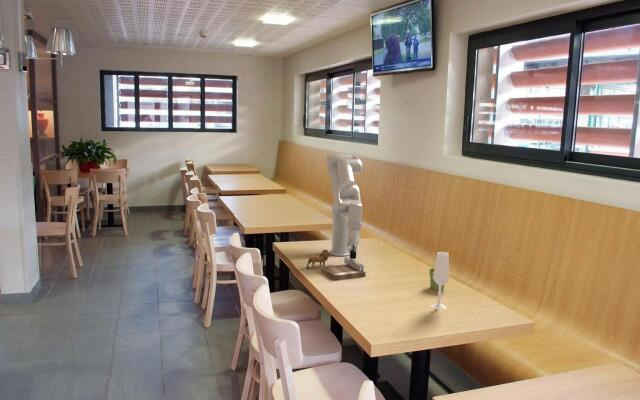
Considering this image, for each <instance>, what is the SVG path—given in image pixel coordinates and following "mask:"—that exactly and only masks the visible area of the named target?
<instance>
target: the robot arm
mask: <svg viewBox="0 0 640 400" xmlns="http://www.w3.org/2000/svg"><path fill="white" fill-rule="evenodd" d="M326 168H327V172H328V174H329V178H330V179H331V180H330V182H331V192H332V196H333V203H332V204H331V213H332V215H331V216H332V231H331V233H332V234H331V235H332V236H331V249H329V251H328V252H329V255H330V256H335V257H348V256H349V258H351V259H353V260H356V259H357V249H358V248H357V247H358V245H359V244H360V234H361V233H360V230H362V224H363V223H362V221H363V203H362V200H361V191H360V188H359V186H358V184H355V183H356V182H355V181H356V180H355V178H354V174H355V175H356V174H357V175H358V174H360V173H362V171H363V163H362V160H361V159H360V158H359V157H358V156H357V155H356V154H354V153H342V152H341V153H338V152H337V153H335V152H334V153H331V154H328V155H327V157H326ZM346 218H347V219H346Z"/></svg>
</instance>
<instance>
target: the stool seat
mask: <svg viewBox="0 0 640 400" xmlns="http://www.w3.org/2000/svg"><path fill="white" fill-rule="evenodd" d="M366 272H367V271H365V270H364V271H358V270H356V269H354V268H352V267H351V266H349V265H347V264H339V265H330V266H325V267H323V266H320V273H322V274H323V275H325V276H326V277H328V278H330V279H332V280H333V281H340V280H348V279H356V278H363V277H365V278H366V276H367V275H366V274H367V273H366Z"/></svg>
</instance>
